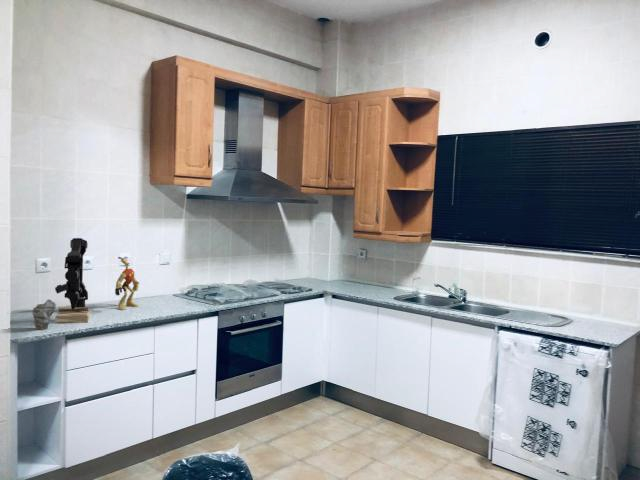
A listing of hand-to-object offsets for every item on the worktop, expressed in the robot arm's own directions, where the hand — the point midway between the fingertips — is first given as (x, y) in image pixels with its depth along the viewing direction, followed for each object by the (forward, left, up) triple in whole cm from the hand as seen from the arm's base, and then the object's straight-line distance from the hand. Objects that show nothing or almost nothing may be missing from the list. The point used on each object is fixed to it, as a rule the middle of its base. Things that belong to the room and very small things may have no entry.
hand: (73, 308), depth 277 cm
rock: (+20, +4, -6) cm, 21 cm away
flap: (-1, -1, -1) cm, 2 cm away
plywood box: (+1, +1, -6) cm, 6 cm away
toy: (-37, -2, -6) cm, 38 cm away
